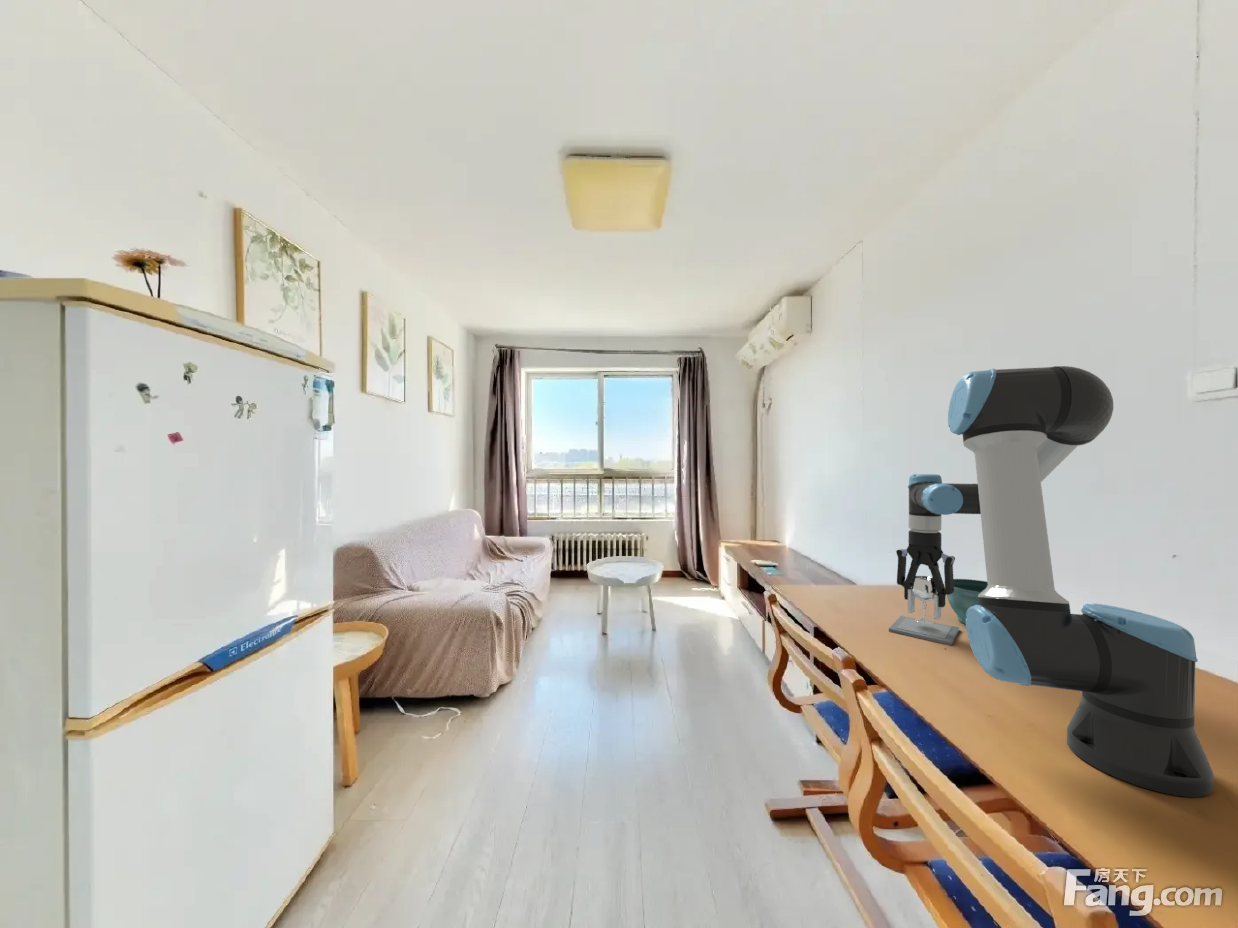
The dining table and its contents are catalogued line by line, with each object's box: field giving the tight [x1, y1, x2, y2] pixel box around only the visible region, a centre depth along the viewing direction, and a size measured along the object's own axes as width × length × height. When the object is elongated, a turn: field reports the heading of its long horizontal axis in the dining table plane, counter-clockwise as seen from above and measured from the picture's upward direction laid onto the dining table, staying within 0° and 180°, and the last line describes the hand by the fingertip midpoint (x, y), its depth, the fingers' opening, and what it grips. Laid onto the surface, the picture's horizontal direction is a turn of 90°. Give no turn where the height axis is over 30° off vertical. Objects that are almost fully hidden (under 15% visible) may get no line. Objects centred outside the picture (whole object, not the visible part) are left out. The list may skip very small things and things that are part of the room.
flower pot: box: [943, 578, 988, 625], centre depth 133 cm, size 16×16×11 cm
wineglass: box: [911, 575, 937, 624], centre depth 127 cm, size 6×6×12 cm
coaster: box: [888, 615, 960, 646], centre depth 127 cm, size 14×14×1 cm
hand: (924, 614), depth 127 cm, fingers closed on wineglass, 6 cm apart
